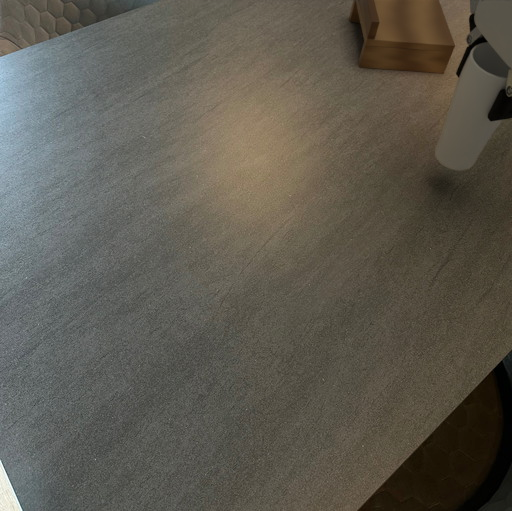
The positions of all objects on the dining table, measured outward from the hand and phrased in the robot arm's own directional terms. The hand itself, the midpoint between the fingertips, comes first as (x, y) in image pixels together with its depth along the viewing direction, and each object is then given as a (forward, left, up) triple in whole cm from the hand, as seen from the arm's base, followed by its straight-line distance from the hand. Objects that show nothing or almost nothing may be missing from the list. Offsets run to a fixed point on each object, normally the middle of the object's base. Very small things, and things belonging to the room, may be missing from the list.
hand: (483, 95), depth 72 cm
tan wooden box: (0, -33, -16) cm, 36 cm away
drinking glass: (0, 0, -10) cm, 10 cm away
